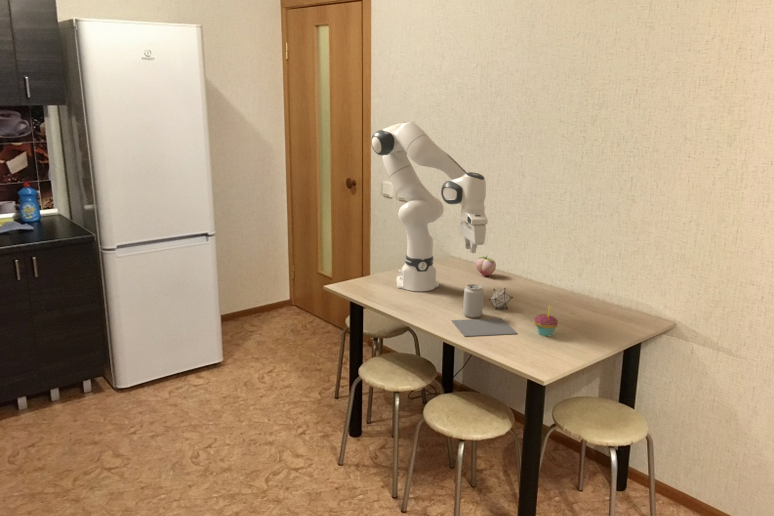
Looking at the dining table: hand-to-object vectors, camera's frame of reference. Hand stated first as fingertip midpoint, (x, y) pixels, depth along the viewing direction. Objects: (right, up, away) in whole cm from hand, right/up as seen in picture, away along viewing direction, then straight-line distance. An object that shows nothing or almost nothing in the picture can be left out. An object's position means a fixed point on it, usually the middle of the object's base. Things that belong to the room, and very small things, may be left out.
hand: (470, 250), depth 254 cm
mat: (+3, -28, -13) cm, 31 cm away
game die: (+13, -23, +9) cm, 28 cm away
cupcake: (+25, -31, -17) cm, 43 cm away
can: (+1, -25, 0) cm, 25 cm away
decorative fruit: (+14, -12, +53) cm, 56 cm away
